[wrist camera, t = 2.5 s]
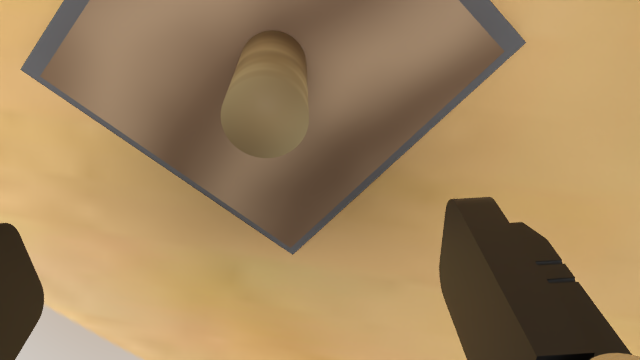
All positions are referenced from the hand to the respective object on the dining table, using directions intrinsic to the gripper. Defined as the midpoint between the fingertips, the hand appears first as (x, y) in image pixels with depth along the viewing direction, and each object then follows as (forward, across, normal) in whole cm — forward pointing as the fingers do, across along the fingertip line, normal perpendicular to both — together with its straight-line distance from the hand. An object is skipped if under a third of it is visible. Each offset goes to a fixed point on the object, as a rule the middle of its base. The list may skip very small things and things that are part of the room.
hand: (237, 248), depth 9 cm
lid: (+14, 0, 0) cm, 14 cm away
